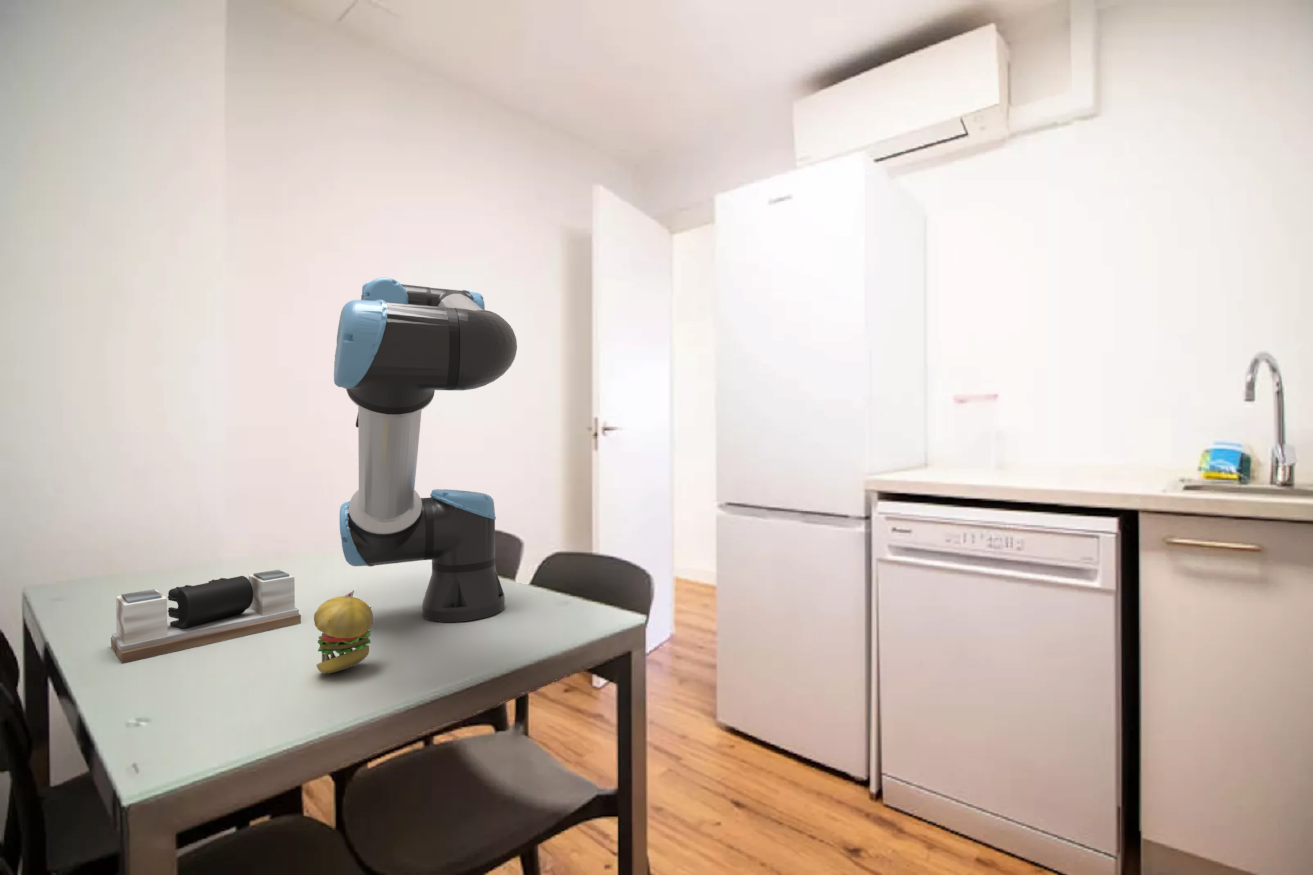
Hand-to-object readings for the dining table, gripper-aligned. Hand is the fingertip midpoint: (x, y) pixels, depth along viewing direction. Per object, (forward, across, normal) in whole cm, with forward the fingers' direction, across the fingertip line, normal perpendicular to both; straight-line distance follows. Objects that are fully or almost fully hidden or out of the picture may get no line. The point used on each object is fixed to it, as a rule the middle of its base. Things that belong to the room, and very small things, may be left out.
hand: (383, 461), depth 120 cm
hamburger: (+29, +33, -21) cm, 49 cm away
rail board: (+29, -2, -29) cm, 41 cm away
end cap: (+27, -2, -29) cm, 39 cm away
